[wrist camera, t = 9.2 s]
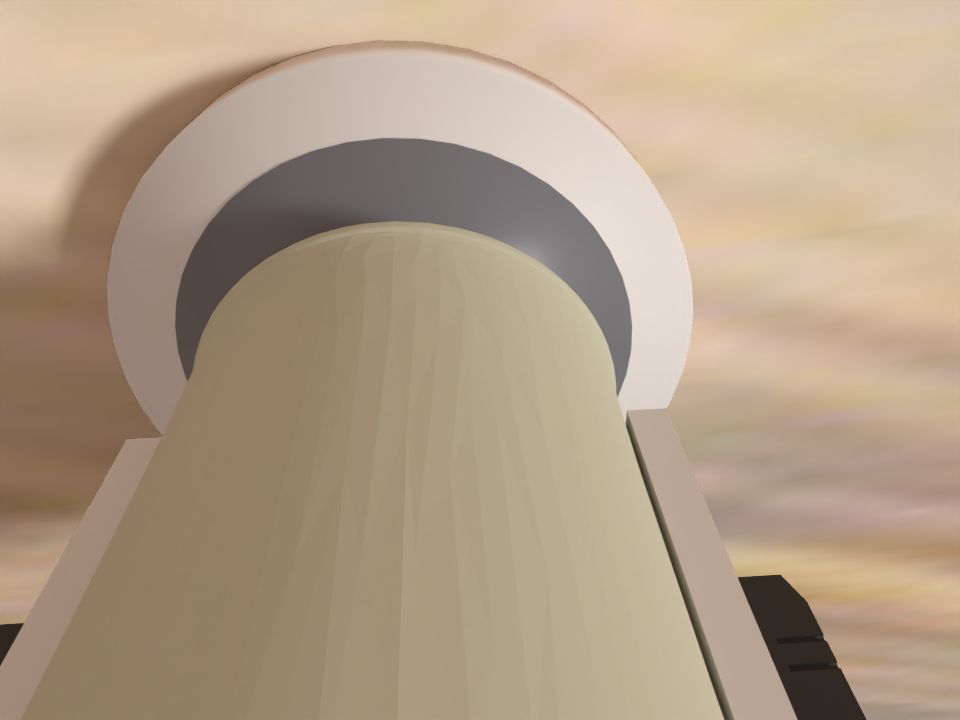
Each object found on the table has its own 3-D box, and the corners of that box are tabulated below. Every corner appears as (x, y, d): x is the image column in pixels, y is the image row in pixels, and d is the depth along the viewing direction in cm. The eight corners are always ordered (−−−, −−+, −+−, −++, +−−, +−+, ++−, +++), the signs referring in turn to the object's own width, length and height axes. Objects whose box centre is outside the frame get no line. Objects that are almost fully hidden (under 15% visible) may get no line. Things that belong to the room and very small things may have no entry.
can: (546, 559, 18) (662, 1317, 9) (197, 519, 17) (-134, 1394, 7) (679, 268, 13) (1333, 1344, 4) (194, 171, 12) (-1032, 1642, 2)
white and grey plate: (644, 493, 22) (656, 531, 21) (216, 518, 22) (202, 559, 20) (719, 24, 14) (748, 40, 12) (32, 56, 13) (-12, 76, 12)
